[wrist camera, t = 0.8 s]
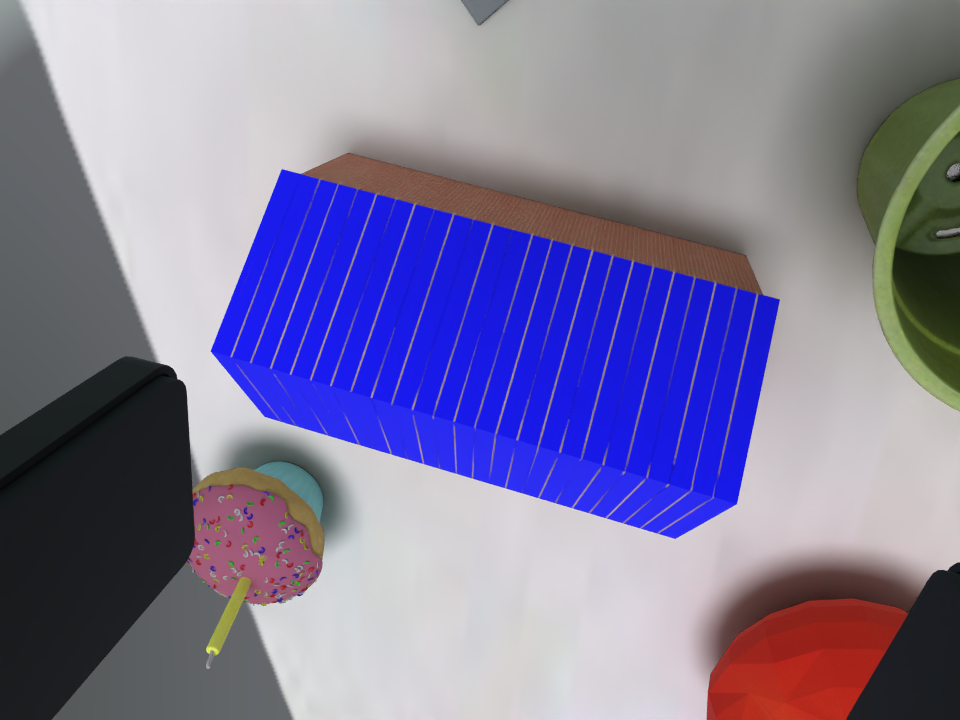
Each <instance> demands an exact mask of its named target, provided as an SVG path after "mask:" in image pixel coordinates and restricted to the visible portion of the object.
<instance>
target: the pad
mask: <svg viewBox="0 0 960 720" xmlns="http://www.w3.org/2000/svg"><path fill="white" fill-rule="evenodd" d="M461 1H462V3H463V4H464V6H465V7H466V8H467V10H468V11H469V13H470V14H471V16H472V17H473V19H474V20H475V22H476V23H477V25H481V24H482V23H483V22H484V21H485V20H486V19H487V18H489V17H490V16H491V15H492V14H493V13H494V12H495V11H497V10H498V9H499V8H500V7H501V6H502V5H503V4H505V3H506V2H507V1H508V0H461Z"/></svg>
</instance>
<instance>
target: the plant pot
mask: <svg viewBox="0 0 960 720" xmlns="http://www.w3.org/2000/svg"><path fill="white" fill-rule="evenodd" d="M956 163H960V78H959V79H955V80H950V81H947V82H944V83H941V84H938V85H935V86H933V87H930V88H928V89H926V90H924V91H922V92H921V93H919V94H917V95H915V96H913V97H912V98H910V99H909V100H907V101H906V102H904V103H903V104H902V105H901V106H899V107H898V108H897V109H896V110H895V111H894V112H893V113H892V114H891V115H890V116H889V117H888V118H887V120H886V121H885V122H884V123H883V124H882V126H881V127H880V128H879V130H878V131H877V132H876V134H875V135H874V137H873V138H872V140H871V141H870V143H869V144H868V146H867V147H866V149H865V152H864V154H863V157H862V160H861V164H860V169H859V174H858V180H857V196H858V201H859V205H860V209H861V211H862V214H863V217H864V219H865V222H866V224H867V227H868V229H869V231H870V234H871V236H872V239H873V242H874V244H875V253H874V260H873V295H874V301H875V307H876V312H877V315H878V319H879V322H880V325H881V328H882V331H883V334H884V336H885V338H886V340H887V342H888V344H889V346H890V348H891V349H892V351H893V353H894V355H895V356H896V358H897V359H898V361H899V362H900V363H901V365H902V366H903V367H904V369H905V370H906V371H907V372H908V373H909V374H910V376H911V377H912V378H913V379H914V380H915V381H916V382H917V383H918V384H919V385H921V386H922V387H923V388H924V389H925V390H927V391H928V392H929V393H930V394H932V395H933V396H935V397H936V398H938V399H939V400H940V401H942V402H944V403H945V404H947V405H949V406H950V407H952V408H954V409H956V410H958V411H960V236H957V237H952V238H945V239H938V238H937V236H936V233H937V232H938V231H939V230H949V229H953V228H959V227H960V181H956V182H952V181H951V180H949V179H948V178H947V176H946V174H947V171H948V170H949V168H950V167H951V166H952V165H954V164H956Z"/></svg>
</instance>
